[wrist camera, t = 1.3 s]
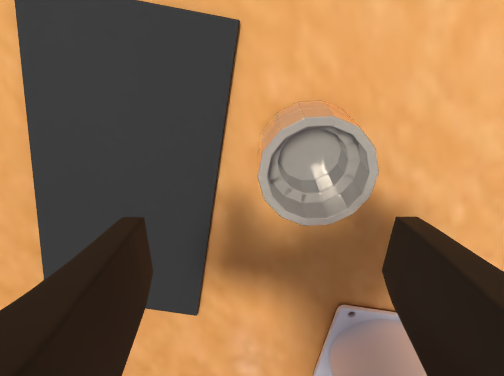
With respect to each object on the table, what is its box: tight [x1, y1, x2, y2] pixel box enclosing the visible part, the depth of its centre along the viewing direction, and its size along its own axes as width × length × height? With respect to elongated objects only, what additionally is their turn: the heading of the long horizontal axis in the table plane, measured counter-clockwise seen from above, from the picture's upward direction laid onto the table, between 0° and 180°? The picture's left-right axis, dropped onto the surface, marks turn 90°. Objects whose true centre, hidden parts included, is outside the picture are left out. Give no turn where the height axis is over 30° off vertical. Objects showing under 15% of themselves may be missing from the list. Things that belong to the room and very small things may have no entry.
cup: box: [258, 101, 379, 226], centre depth 19 cm, size 6×6×4 cm
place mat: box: [15, 0, 239, 316], centre depth 21 cm, size 11×20×1 cm, turn 170°
